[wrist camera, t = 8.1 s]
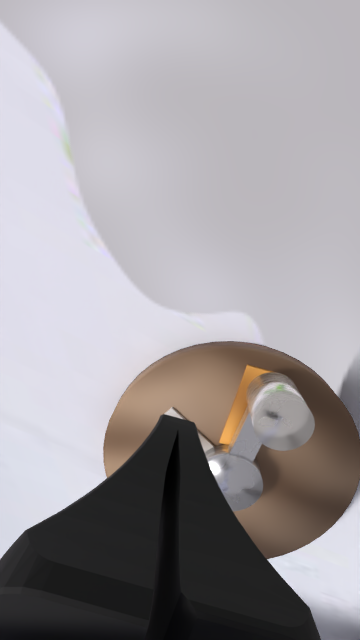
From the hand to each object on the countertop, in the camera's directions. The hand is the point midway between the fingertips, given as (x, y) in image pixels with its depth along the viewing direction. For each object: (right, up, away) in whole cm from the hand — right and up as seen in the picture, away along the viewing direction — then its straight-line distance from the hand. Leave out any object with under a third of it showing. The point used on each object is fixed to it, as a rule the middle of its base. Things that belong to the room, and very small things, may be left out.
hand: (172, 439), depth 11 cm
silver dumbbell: (+5, -3, +8) cm, 10 cm away
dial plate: (+4, -5, +11) cm, 13 cm away
